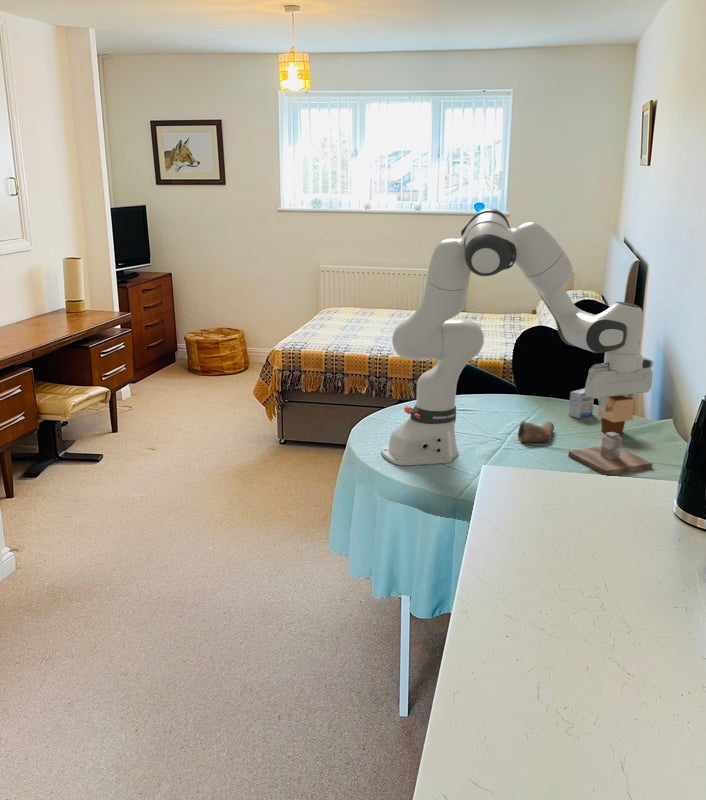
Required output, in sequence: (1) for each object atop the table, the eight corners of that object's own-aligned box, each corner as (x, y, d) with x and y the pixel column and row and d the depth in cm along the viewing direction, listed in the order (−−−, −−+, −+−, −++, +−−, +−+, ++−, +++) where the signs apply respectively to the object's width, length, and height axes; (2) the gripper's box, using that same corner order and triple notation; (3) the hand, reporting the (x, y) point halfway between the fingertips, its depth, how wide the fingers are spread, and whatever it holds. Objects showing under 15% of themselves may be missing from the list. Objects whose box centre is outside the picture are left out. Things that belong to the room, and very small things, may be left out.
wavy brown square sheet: (605, 475, 200) (609, 446, 197) (568, 456, 214) (571, 428, 212) (652, 467, 206) (655, 439, 203) (612, 449, 220) (615, 422, 217)
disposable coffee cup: (590, 430, 236) (593, 394, 233) (607, 425, 242) (611, 389, 238) (616, 438, 229) (620, 401, 226) (633, 432, 235) (638, 396, 231)
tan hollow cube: (613, 422, 201) (615, 401, 200) (597, 415, 207) (599, 395, 205) (632, 419, 204) (634, 398, 202) (616, 413, 210) (618, 392, 208)
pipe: (559, 417, 234) (528, 408, 238) (551, 432, 220) (518, 423, 223) (554, 435, 237) (523, 427, 240) (545, 452, 222) (513, 442, 225)
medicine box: (579, 419, 248) (581, 394, 246) (567, 415, 251) (570, 391, 249) (592, 414, 253) (595, 390, 250) (581, 411, 256) (583, 387, 254)
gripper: (597, 367, 194) (592, 417, 198) (658, 361, 202) (652, 409, 206) (582, 362, 200) (577, 410, 204) (642, 356, 207) (636, 403, 211)
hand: (615, 410), depth 205 cm, fingers closed on tan hollow cube, 6 cm apart
